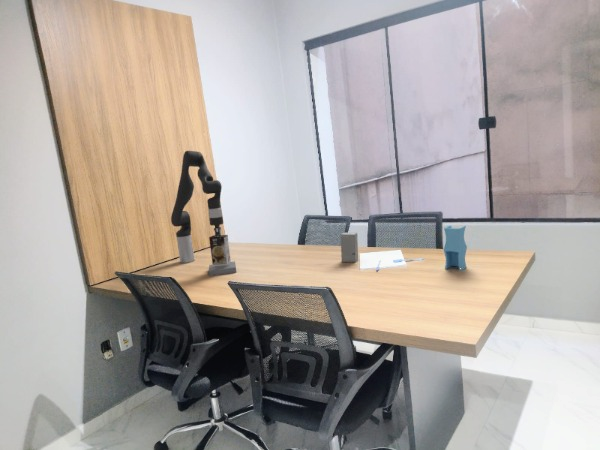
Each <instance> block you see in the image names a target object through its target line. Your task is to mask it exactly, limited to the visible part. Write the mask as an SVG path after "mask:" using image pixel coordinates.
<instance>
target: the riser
mask: <svg viewBox="0 0 600 450" xmlns="http://www.w3.org/2000/svg"><path fill="white" fill-rule="evenodd" d="M235 273H237V266H236V261H234V260H233V261H231V262H230V263H228V264H222V265H213V264H209V266H208V275H209V277H215V276H220V275H221V276H222V275H228V274H235Z"/></svg>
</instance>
